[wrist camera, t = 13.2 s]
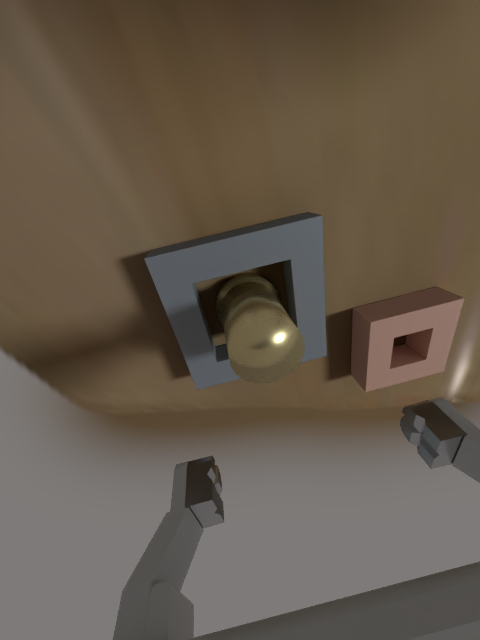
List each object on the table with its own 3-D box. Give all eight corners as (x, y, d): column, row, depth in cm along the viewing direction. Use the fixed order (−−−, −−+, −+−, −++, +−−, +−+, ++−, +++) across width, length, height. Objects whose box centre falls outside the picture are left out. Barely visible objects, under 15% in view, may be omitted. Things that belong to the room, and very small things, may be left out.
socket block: (308, 212, 20) (322, 215, 18) (316, 341, 26) (326, 355, 24) (150, 250, 19) (144, 258, 17) (197, 372, 26) (197, 389, 24)
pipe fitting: (272, 265, 22) (307, 303, 15) (280, 321, 24) (312, 375, 17) (207, 281, 21) (212, 327, 14) (223, 335, 24) (233, 396, 17)
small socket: (436, 286, 25) (464, 298, 23) (422, 354, 30) (443, 371, 27) (352, 308, 25) (370, 322, 22) (350, 373, 29) (365, 392, 27)
